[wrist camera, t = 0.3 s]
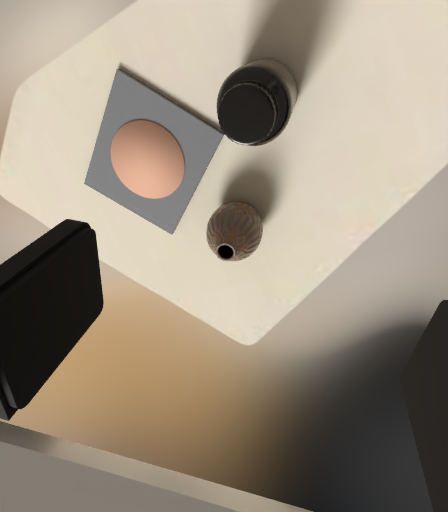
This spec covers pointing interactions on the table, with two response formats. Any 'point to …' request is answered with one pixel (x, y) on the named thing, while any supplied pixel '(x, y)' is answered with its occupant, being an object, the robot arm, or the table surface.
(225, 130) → the supplement bottle
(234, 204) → the vase
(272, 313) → the table surface
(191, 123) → the mat
